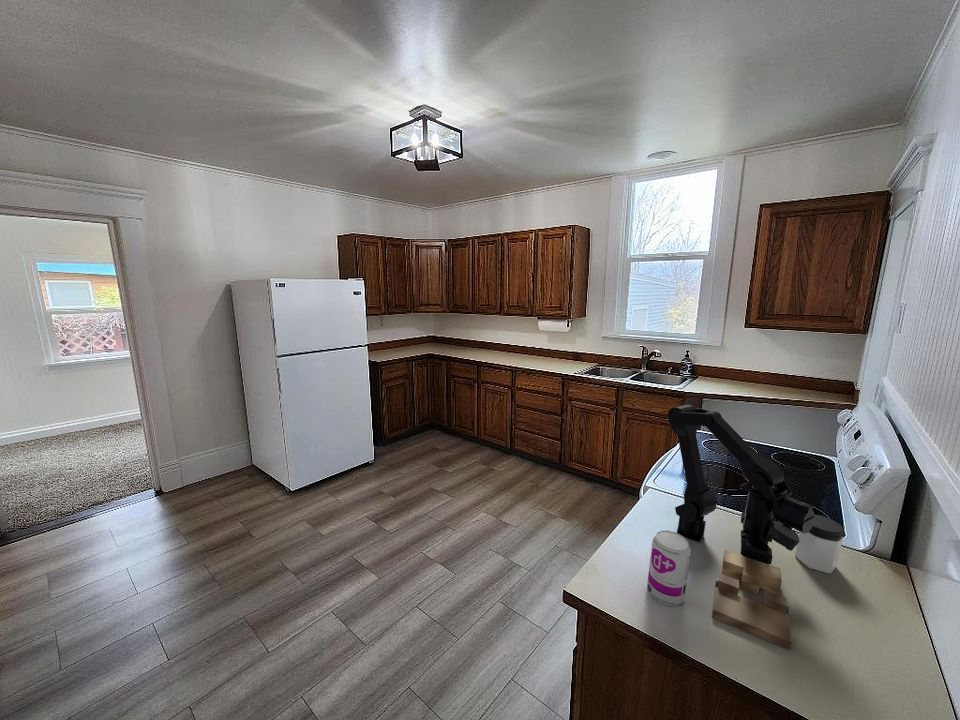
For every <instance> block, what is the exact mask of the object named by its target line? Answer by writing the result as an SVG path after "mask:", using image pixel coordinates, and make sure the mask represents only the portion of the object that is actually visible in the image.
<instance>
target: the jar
mask: <svg viewBox="0 0 960 720" xmlns="http://www.w3.org/2000/svg"><path fill="white" fill-rule="evenodd" d="M814 517H815V520H814V523H813V526H812V528H811V529H810V531H809V532H808V533H806V534H804V533H802V532H800V531H798V532H799V533H798V537H799V543H798V544H797V545H796V546H795V552H794V557H795V558H796V559H797V560H799V561H800V562H802V563H801V564H804V565H805V566H806V567H807V568H808V569H811V570H815V571H819V572H822V573H825V574H832V573H833V572H834V570H835V569H836V568H837V565H838V561H839V556H840V552H841V548H842V544H843V539H844V531H845V530H844V527H843V526H842V525H841V524H840V523H838V522H836V521H835V520H833V519H831V518H829V517H827V516H823V515H819V514H814Z"/></svg>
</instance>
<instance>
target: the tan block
mask: <svg viewBox="0 0 960 720" xmlns="http://www.w3.org/2000/svg"><path fill="white" fill-rule="evenodd" d="M721 565H722V566H721V574H723V575H726V576H728V577H731V578H734V579H737V580H739V582H740V589H741V590H744V591H746V592H750V593H751V594H755V595H757V596H758V595H759V592H760V589H762V590H767V591H770V592H772V593H775V594H778V595H780V591H781V586H782V571H781V568H780V567H777V566H775V565H772V564H766V563H762V562H759V561H756V560H753V559H750V558H747V557H744V556H742V555H741V554H737V553H735V552H733V551H729V550H727V549H724V552H723V558H722V563H721Z"/></svg>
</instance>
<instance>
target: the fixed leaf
mask: <svg viewBox="0 0 960 720" xmlns="http://www.w3.org/2000/svg"><path fill="white" fill-rule="evenodd" d="M718 577H719V578H718V579H715V584H714V586H715V590H714V596H713V606H712V615H711V617H712V618H714V619H716V620H717V621H720V622H723V623H726V624H728V625H729V626H733V627H734V628H737V629H740V630H741V631H745V632H746V633H749V634H752V635H754V636H757V637H759V638H760V639H764V640H766V641H767V642H768V641H769V643H773V644H775V645H778V646H780V647H783V648H785V649H787V650H791V645H792V637H791V636H792V635H791V628H790V627H791V625H790V618H789V612H790V606H788V604H787V597H786V596H783V595H780V594H779V595H778V594H775V593H773V592H770V591H767V590H764V589H763V590H764V591H763V596H762V602H761V603H758V602H757V601H753V600H750V599H748V598H745V597H743V596H740V595H739V589H740V581H739V580H737V579H734V578H731V577H728V576H726V575H723V574H722V573H719V576H718Z"/></svg>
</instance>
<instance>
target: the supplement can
mask: <svg viewBox="0 0 960 720" xmlns="http://www.w3.org/2000/svg"><path fill="white" fill-rule="evenodd" d="M691 552H692V550H691V548H690V544H689V542H688V540H687V539H686V537H683V536H681V535H680V534H678V533H676V532H675V531H672V530H660V531H657V532H656V534H655V536H653V538H652V542H651V551H650V558H649V566H648V575H647V584H646V588H647V591H648V593H649V594H650V596H652V598H654V599H655V601H657V602H659V603H660V604H661V605H664V606H665V605H666V606H670V607H673V606H674V607H675V606H677V605H678V606H679V605H681V604H682V603H683V602H684V601H685V594H686V588H687V580H688V574H689V566H690V558H691Z"/></svg>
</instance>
